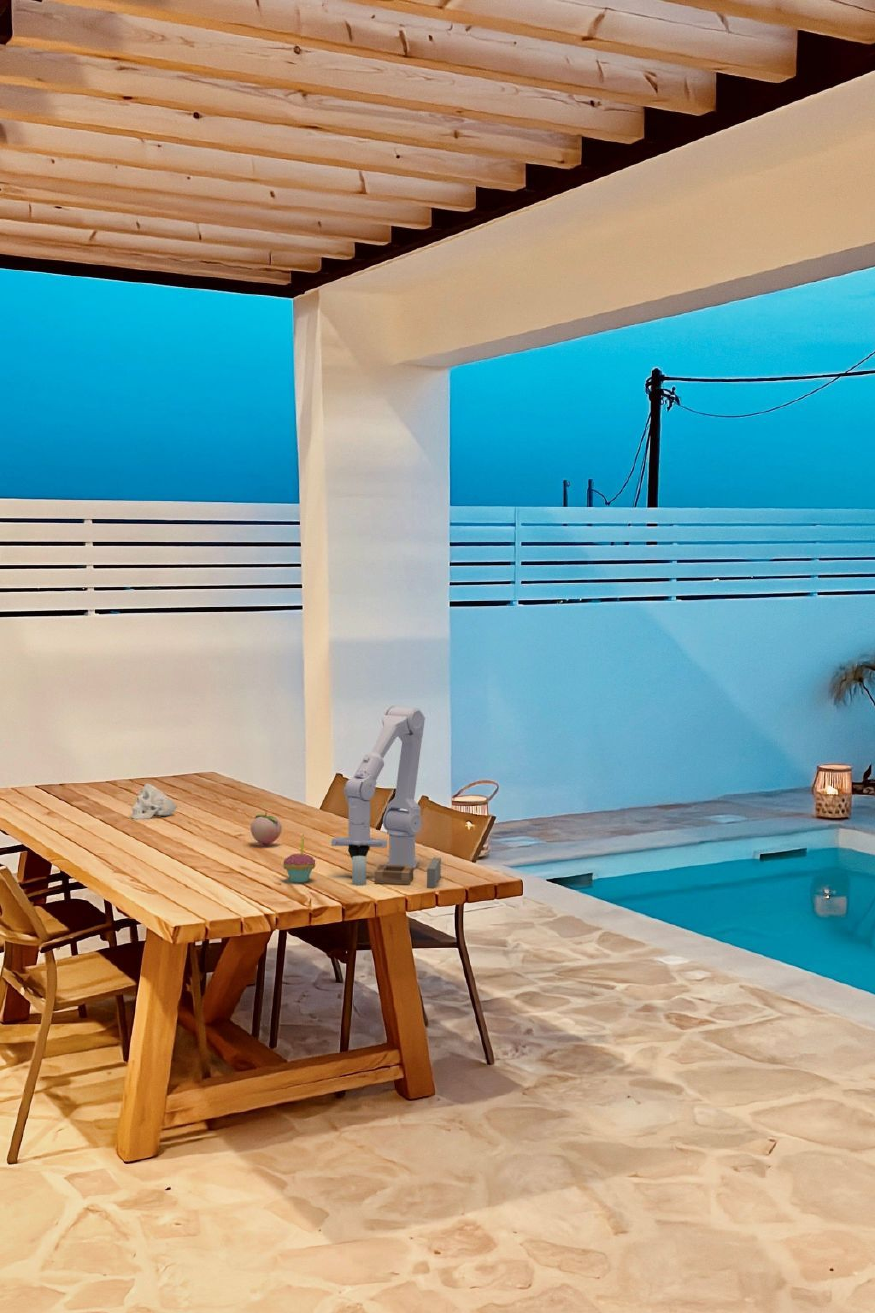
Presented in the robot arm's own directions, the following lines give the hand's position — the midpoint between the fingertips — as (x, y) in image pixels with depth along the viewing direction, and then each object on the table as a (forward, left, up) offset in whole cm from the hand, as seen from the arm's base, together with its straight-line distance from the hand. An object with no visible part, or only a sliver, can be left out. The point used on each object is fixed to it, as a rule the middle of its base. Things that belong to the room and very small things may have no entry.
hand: (358, 873), depth 352 cm
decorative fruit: (-37, -35, -1) cm, 51 cm away
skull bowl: (-80, -83, -1) cm, 115 cm away
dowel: (+8, +1, -1) cm, 8 cm away
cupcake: (+7, -15, -1) cm, 16 cm away
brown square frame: (+3, +10, -1) cm, 10 cm away
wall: (+3, +20, -1) cm, 21 cm away
